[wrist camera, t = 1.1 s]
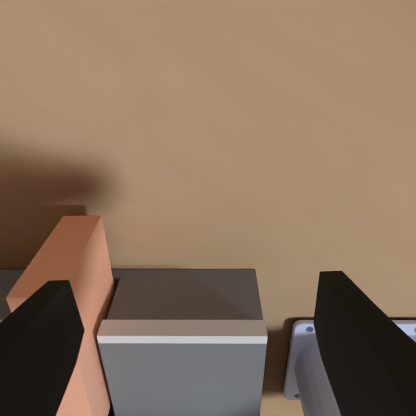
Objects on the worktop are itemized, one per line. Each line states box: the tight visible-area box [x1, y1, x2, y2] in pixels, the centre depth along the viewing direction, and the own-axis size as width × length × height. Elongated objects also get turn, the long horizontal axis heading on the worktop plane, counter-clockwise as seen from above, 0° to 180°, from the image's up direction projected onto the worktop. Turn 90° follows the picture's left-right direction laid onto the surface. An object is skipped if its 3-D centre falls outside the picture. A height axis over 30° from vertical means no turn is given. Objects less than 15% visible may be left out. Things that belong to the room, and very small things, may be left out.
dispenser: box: [0, 269, 268, 416], centre depth 21 cm, size 19×14×10 cm
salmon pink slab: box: [6, 216, 115, 416], centre depth 19 cm, size 2×10×6 cm, turn 1°
